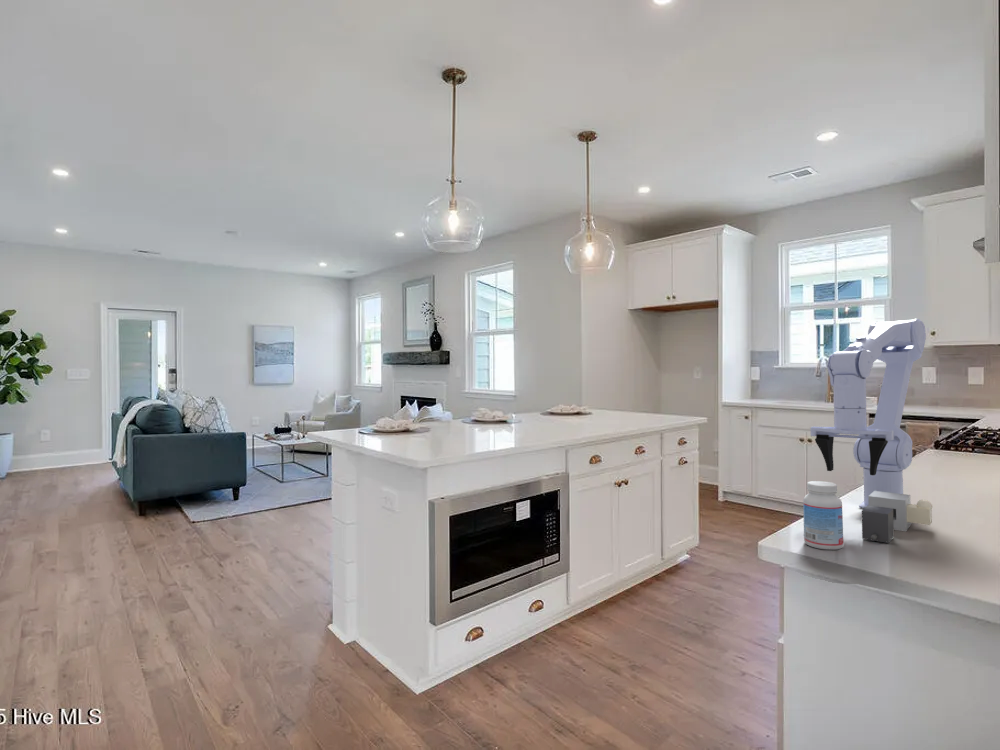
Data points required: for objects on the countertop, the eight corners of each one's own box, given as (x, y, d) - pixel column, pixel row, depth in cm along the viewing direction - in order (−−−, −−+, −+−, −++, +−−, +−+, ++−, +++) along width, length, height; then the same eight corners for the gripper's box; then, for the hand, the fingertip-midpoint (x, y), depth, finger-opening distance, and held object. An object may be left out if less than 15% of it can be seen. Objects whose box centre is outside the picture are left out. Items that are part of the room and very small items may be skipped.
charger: (870, 529, 104) (870, 502, 104) (896, 533, 101) (895, 506, 101) (860, 540, 97) (859, 512, 97) (886, 545, 95) (886, 516, 95)
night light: (909, 518, 106) (909, 496, 106) (933, 522, 104) (933, 499, 104) (907, 522, 104) (906, 499, 104) (931, 525, 101) (931, 502, 101)
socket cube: (875, 519, 112) (874, 490, 112) (910, 524, 107) (910, 494, 107) (868, 525, 107) (868, 495, 107) (906, 531, 103) (905, 500, 103)
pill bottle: (849, 551, 93) (848, 487, 93) (811, 550, 94) (809, 486, 94) (834, 540, 99) (833, 480, 99) (799, 539, 100) (797, 479, 100)
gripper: (805, 408, 114) (807, 471, 114) (888, 410, 104) (889, 479, 104) (815, 405, 119) (816, 466, 119) (895, 407, 109) (896, 474, 109)
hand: (851, 472), depth 112 cm, fingers open, 7 cm apart
